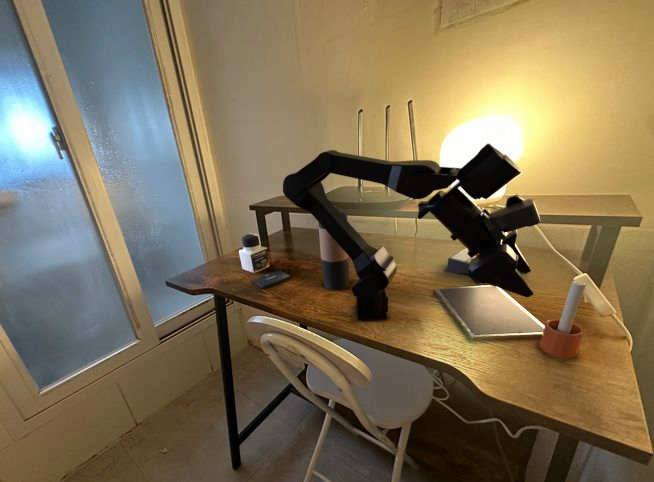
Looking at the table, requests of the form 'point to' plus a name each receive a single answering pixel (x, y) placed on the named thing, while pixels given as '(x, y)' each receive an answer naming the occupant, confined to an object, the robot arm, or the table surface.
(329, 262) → the travel mug
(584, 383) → the table surface
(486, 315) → the tablet
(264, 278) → the solid state drive
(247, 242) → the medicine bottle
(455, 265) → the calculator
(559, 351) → the pen pot
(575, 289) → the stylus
